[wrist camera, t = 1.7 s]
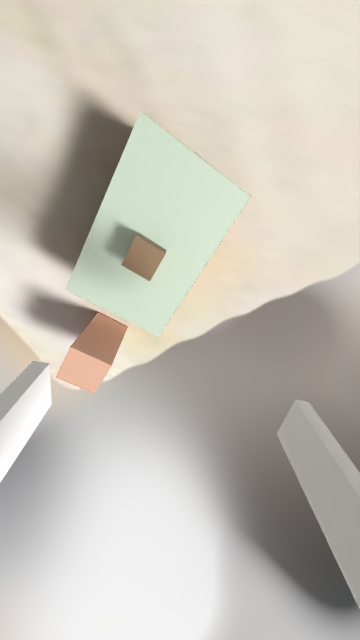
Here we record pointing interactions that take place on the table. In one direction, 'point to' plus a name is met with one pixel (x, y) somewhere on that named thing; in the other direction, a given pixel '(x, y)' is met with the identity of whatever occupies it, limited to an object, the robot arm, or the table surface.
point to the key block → (92, 353)
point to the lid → (154, 229)
